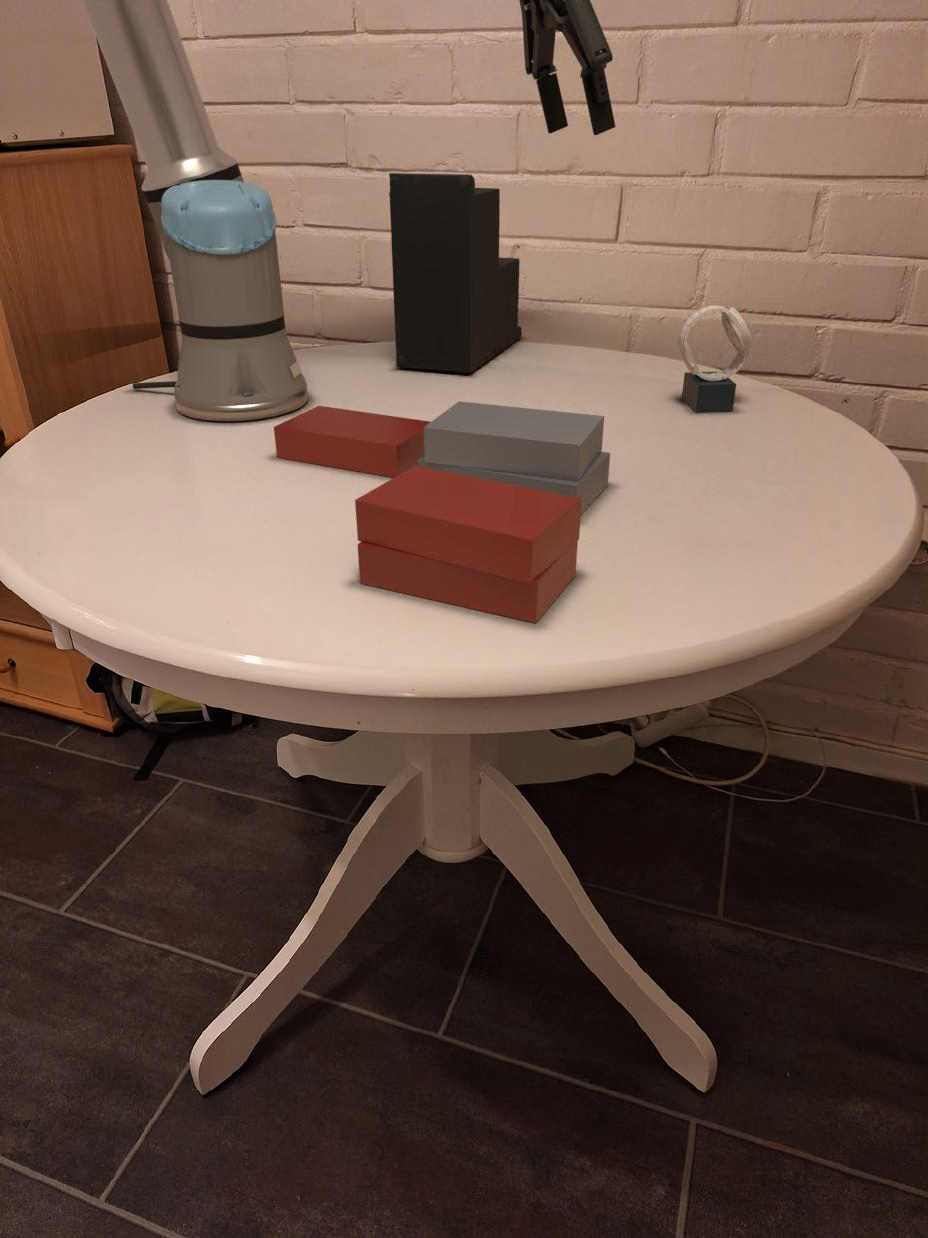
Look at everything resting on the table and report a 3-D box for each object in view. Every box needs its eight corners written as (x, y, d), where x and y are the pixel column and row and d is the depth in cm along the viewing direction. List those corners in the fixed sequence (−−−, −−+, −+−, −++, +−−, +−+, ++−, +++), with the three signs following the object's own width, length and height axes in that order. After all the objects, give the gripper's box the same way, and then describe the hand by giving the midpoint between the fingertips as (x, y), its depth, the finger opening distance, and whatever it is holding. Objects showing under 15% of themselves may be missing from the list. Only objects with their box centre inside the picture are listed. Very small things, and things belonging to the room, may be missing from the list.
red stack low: (359, 583, 67) (357, 544, 65) (411, 542, 73) (410, 505, 72) (536, 623, 62) (537, 581, 60) (576, 575, 68) (578, 536, 66)
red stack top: (357, 540, 66) (354, 499, 64) (416, 503, 72) (415, 465, 70) (530, 583, 60) (532, 539, 58) (579, 539, 66) (581, 498, 64)
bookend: (456, 333, 140) (454, 162, 128) (523, 338, 136) (527, 163, 125) (394, 369, 121) (385, 173, 109) (471, 376, 117) (470, 174, 106)
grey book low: (418, 493, 82) (417, 459, 81) (461, 462, 89) (461, 430, 88) (574, 521, 77) (576, 485, 75) (607, 485, 84) (610, 452, 82)
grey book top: (424, 462, 80) (423, 427, 79) (458, 433, 87) (458, 401, 85) (578, 481, 76) (580, 444, 74) (602, 450, 83) (604, 415, 81)
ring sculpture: (749, 410, 104) (764, 310, 98) (680, 412, 103) (691, 312, 98) (732, 397, 108) (746, 301, 103) (666, 398, 108) (676, 302, 103)
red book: (276, 457, 91) (273, 426, 89) (321, 434, 97) (318, 405, 96) (398, 478, 86) (396, 446, 84) (437, 452, 92) (436, 421, 90)
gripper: (616, -96, 96) (654, 119, 108) (524, -59, 117) (564, 119, 129) (554, -72, 95) (599, 143, 107) (473, -39, 116) (517, 138, 128)
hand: (580, 130), depth 118 cm, fingers open, 13 cm apart
